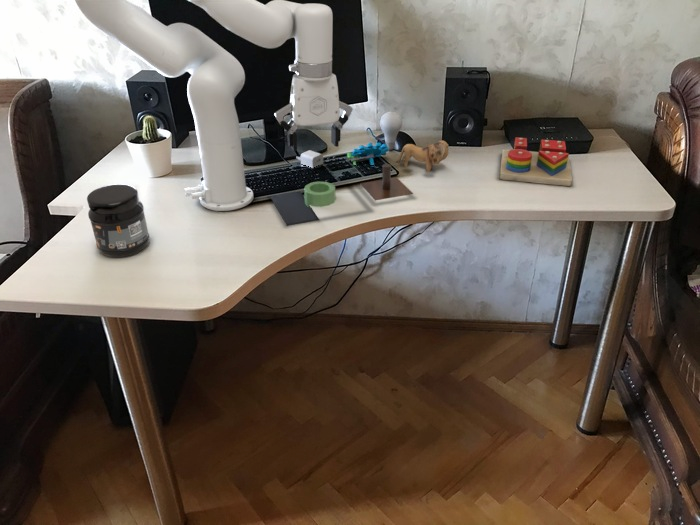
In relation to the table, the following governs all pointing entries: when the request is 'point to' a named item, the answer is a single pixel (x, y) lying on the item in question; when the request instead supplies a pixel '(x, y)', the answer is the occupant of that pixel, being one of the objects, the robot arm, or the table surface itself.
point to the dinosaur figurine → (367, 153)
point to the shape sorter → (537, 163)
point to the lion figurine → (425, 153)
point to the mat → (293, 208)
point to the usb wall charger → (311, 159)
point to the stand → (386, 186)
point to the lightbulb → (390, 127)
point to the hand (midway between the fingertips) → (314, 146)
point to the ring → (319, 194)
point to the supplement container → (118, 220)
